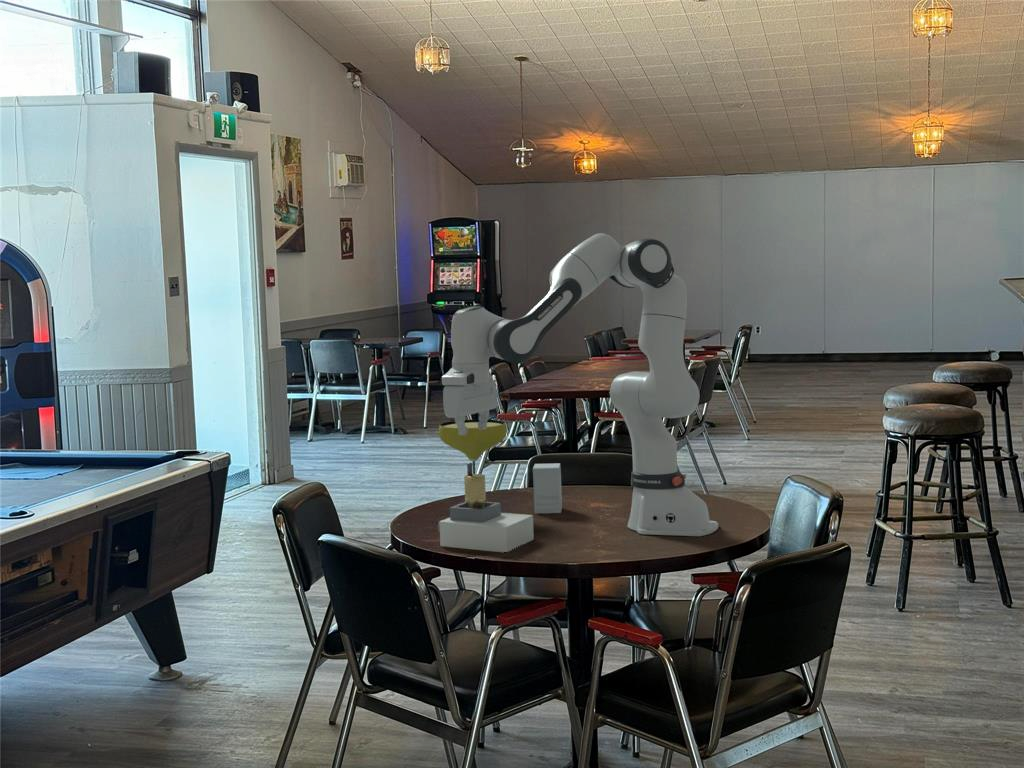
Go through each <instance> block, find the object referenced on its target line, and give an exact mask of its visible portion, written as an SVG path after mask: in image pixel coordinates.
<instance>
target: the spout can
mask: <svg viewBox="0 0 1024 768" xmlns="http://www.w3.org/2000/svg"><path fill="white" fill-rule="evenodd" d="M466 465H467V466H466V469H467V474H466V475H464V502H465V508H473V509H482V508H485V507H486V502H487V498H486V497H487V495H486V475H485V474H482V473H475V474H473V462H467V463H466Z"/></svg>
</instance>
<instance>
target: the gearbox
mask: <svg viewBox="0 0 1024 768" xmlns="http://www.w3.org/2000/svg"><path fill="white" fill-rule="evenodd" d="M437 531H438V532H439V541H440V543H439V544H440V547H446V548H456V549H466V550H475V551H477V550H478V551H485V552H494V553H504V552H507V553H509V552H511V551H513V550H515V549H517V548H519V547H521V546H523V545H526V544H528V543H530V542H531V541H533V540H534V538H535V537H534V515H532V514H523V513H511V512H502V508H501V502H492V501H486V507H485V508H482V509H473V508H465V501H464V502H460V503H458V504H454V505H453V506H451V507H449V517H447V518H445V519H441V520H439V521H438V524H437ZM522 544H523V545H522ZM520 545H521V546H520ZM518 546H519V547H518ZM516 547H517V548H516ZM514 548H515V549H514ZM512 549H513V550H512ZM510 550H511V551H510ZM508 551H509V552H508Z"/></svg>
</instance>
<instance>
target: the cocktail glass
mask: <svg viewBox="0 0 1024 768" xmlns="http://www.w3.org/2000/svg"><path fill="white" fill-rule="evenodd" d="M464 422H465V426H466V427H468V430H467V431H468V433H467V434H466V435H459V434H458V427H457V425H456V422H455V420H453V421H447V422H443V423H441V424H439V425H438V435H439V439H440V440H441V441H442V442H443V443H444V445H447V446H449V447H451V448H452V449H454V450H457V451H459V452H461V453H463V454H464V455H465V456H466V457H467V458H468V460H470V462H472V474H476V461H478V460H479V459H480V457H481V456H482V454H483V453H485V452H486V451H488V450H490V449H492V448H493V447H495V446H497V445H498V444H500V443H502V441H503V440H504V439H505V438H506V436H507V424H506V422H505V421H502V420H499V419H498V420H497V419H488V420H487V428H486V429H484V430H479V429H478V422H479V419H465V421H464Z"/></svg>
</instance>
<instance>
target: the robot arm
mask: <svg viewBox="0 0 1024 768" xmlns="http://www.w3.org/2000/svg"><path fill="white" fill-rule="evenodd" d="M674 272H675V269H674V265H673V263H672V257H671V254H670V251H669V248H668V247H667V246H666V245H665V243H663V242H662V241H660V240H657V239H654V238H642V239H639V240H636V241H633V242H630V243H628V244H626V245H621V244H619V243H618V242H617V241H616V239H614V238H613V237H612V236H611V235H609V234H607V233H603V232H602V233H601V232H598V233H595V234H593V235H591V236H589V238H587V239H585V240H583V241H582V242H581V243H579V244H578V245H577V246H575V247H574V248H572V249H571V250H570V251H569V252H568V253H566V254H565V255H564V256H563V257H562V258H561V259H560V260H559V261H558V262H557V264H556V265H555V266H554V267H553V269H551V271H550V272H549V280H548V281H549V285H550V288H549V291H548V293H547V294H546V295H545V296H544V297H543V298H542V299H541V300H540V301H539V302H538V303H537V304H536V305H535V306H534V307H533V308H531V310H529V312H528V313H527V314H525V315H524V316H521V317H519V318H516V319H508V318H504V317H503V316H502V317H501V316H498V315H497V314H494V313H492V312H490V311H488V309H485V307H484V306H480V305H475V306H469V307H465V308H464V307H463V308H461V309H459V310H458V309H457V311H456V312H455V313H454V314H453V315H452V319H451V328H450V331H451V332H450V338H451V339H450V341H451V342H450V343H451V349H452V354H453V356H452V360H451V368H450V369H449V370H448V371H447V372H446V373H445V374H443V375H442V378H441V385H442V386H444V387H443V390H442V393H443V394H442V399H443V400H442V401H443V403H442V404H443V412H444V415H445V416H446V418H452V419H454V421H455V422H456V425H457V427H458V434H459V435H466V434H467V433H468V431H467V430H468V427H466V426H465V422H464V421H465V420H466V416H471V415H475V414H479V419H478V420H479V422H478V429H479V430H484V429H486V428H487V420H489V417H490V410H495V409H497V407H498V404H499V403H498V402H499V401H498V392H497V391H498V390H497V384H496V382H495V380H494V376H493V375H492V374H491V372H490V362H489V361H490V360H489V359H490V358H492V357H494V358H496V359H500V360H504V361H506V362H509V363H511V364H522V363H526V362H527V361H529V360H530V359H532V358H533V356H534V355H535V354H536V352H537V351H538V349H539V347H540V344H541V342H542V340H543V339H544V337H545V335H546V334H547V333H548V332H549V331H550V330H551V329H552V328H553V327H554V326H556V324H557V323H558V322H559V321H560V320H561V319H562V318H563V317H564V316H565V315H566V314H567V313H568V312H569V311H570V310H571V309H572V308H573V307H575V306H576V305H577V304H578V303H579V302H580V301H582V300H584V299H585V298H586V297H588V296H589V295H590V294H591V293H592V292H594V291H595V290H596V289H597V288H598V287H599V286H601V284H602V283H603V282H605V280H607V279H611V280H612V281H613V282H614V283H616V284H617V285H620V286H621V287H624V288H628V289H630V288H631V289H633V288H638V287H639V289H640V290H641V292H642V293H641V294H642V298H643V304H642V312H641V316H640V317H641V318H640V327H639V333H638V340H637V343H638V344H637V345H638V347H639V350H640V351H641V353H643V354H645V356H646V358H647V359H648V364H649V371H637V370H636V371H631V372H626V373H621V374H619V375H617V376H615V378H614V379H613V380H612V383H611V385H610V388H609V398H610V401H611V404H612V405H613V407H614V408H615V409H616V410H617V411H618V412H619V413H620V415H621V416H622V418H623V421H624V422H625V425H626V428H627V429H628V433H629V436H630V441H631V442H630V443H631V450H632V451H631V453H632V471H631V474H630V475H631V478H630V486H631V493H632V495H631V496H632V498H631V508H630V514H629V519H628V522H627V528H629V529H630V530H633V531H636V532H637V533H638V534H641V535H656V536H657V535H658V536H683V537H684V536H685V537H703V536H706V535H711V534H713V533H714V532H716V531H717V530H718V529H719V523H718V521H715V520H710V515H709V510H708V505H707V503H706V502H705V501H704V500H703V499H701V498H700V497H699V496H698V495H696V494H695V493H693V491H692V490H690V489H689V488H688V487H687V486H685V484H686V479H687V477H686V476H687V473H682V472H680V470H678V448H677V447H678V445H677V444H678V443H677V441H676V438H675V437H674V435H673V434H671V432H670V431H668V429H667V428H666V426H665V424H664V421H663V419H662V418H666V419H677V418H678V419H679V418H684V417H688V416H690V415H692V414H693V413H694V412H695V411H696V409H697V408H698V405H699V403H700V398H701V397H700V395H701V394H700V389H699V387H698V385H697V383H696V381H695V380H694V379H693V378H692V377H691V375H690V373H689V371H688V369H687V366H686V363H685V362H686V361H685V358H684V340H685V330H686V322H687V321H686V320H687V315H688V314H687V313H688V312H687V311H688V292H687V285H686V282H685V281H684V279H683V278H681V277H680V276H679V275H676V274H675V273H674Z"/></svg>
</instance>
